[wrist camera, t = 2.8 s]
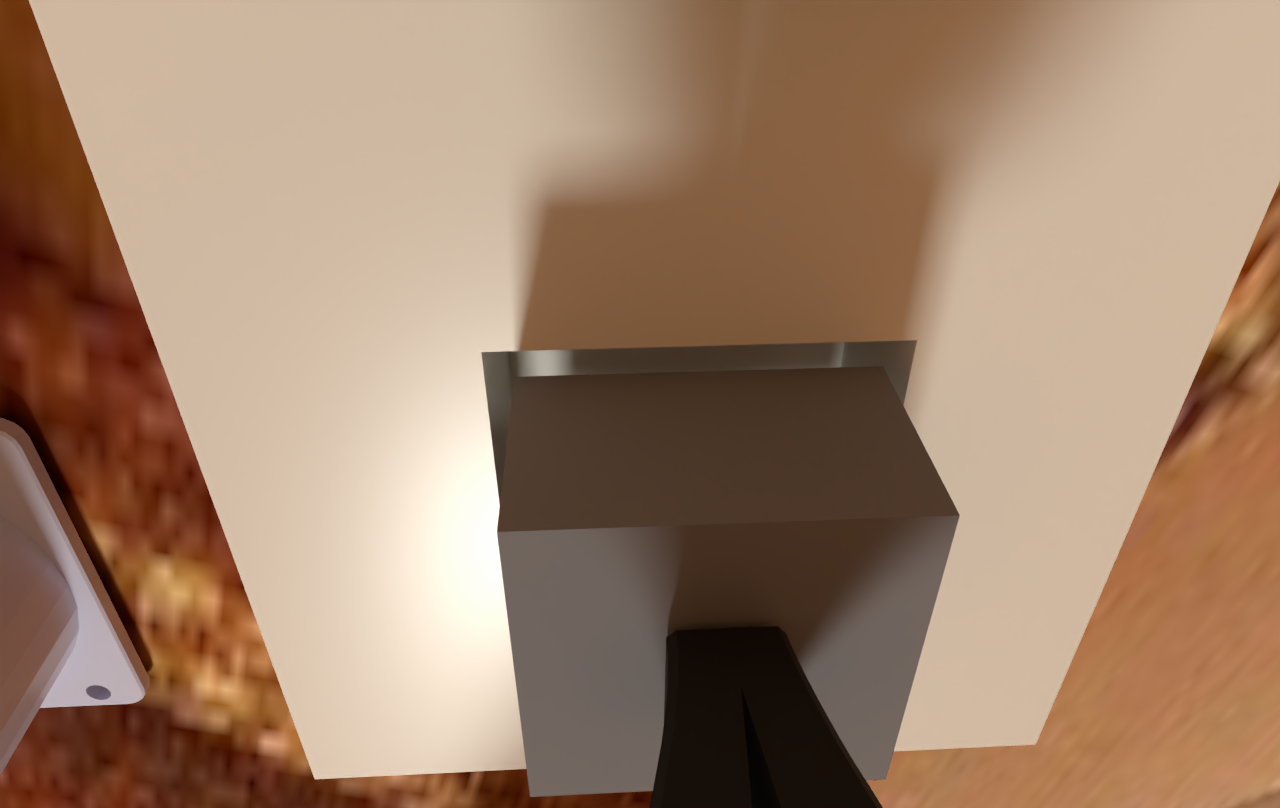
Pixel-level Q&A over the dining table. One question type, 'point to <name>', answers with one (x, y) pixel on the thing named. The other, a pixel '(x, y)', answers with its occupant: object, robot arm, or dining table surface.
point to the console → (663, 288)
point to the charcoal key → (711, 552)
